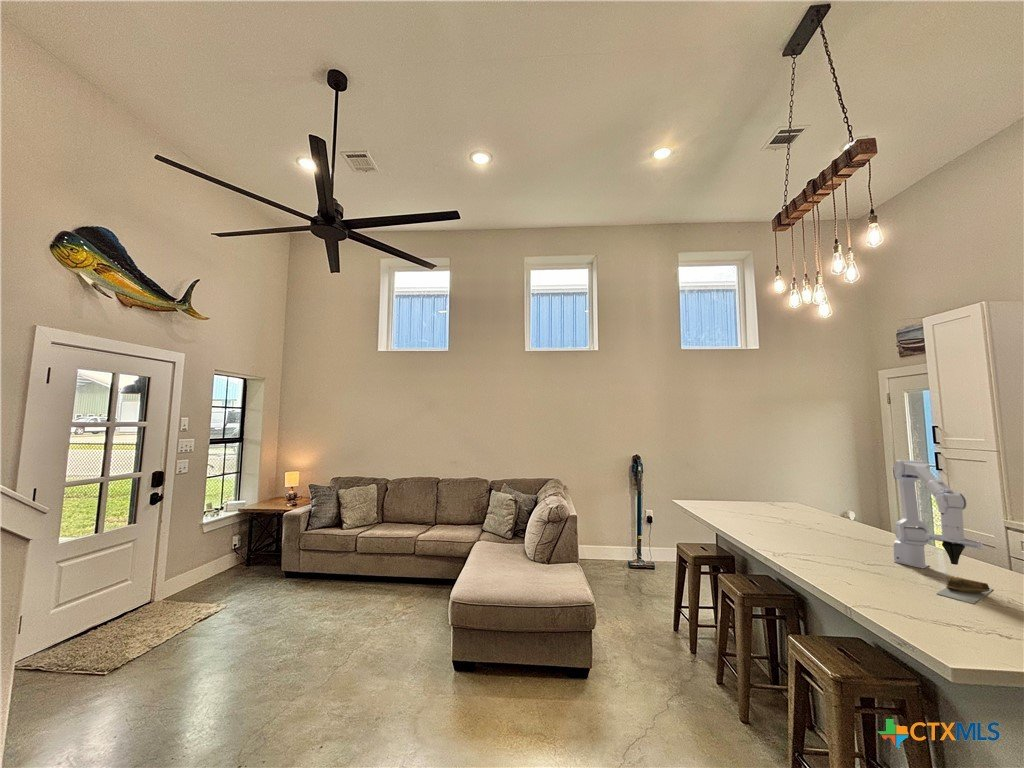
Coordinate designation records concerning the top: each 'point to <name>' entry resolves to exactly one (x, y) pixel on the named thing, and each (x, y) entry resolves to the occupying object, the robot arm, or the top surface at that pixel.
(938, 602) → the top surface
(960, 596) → the mat
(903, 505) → the robot arm
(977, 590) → the rock
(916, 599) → the top surface
